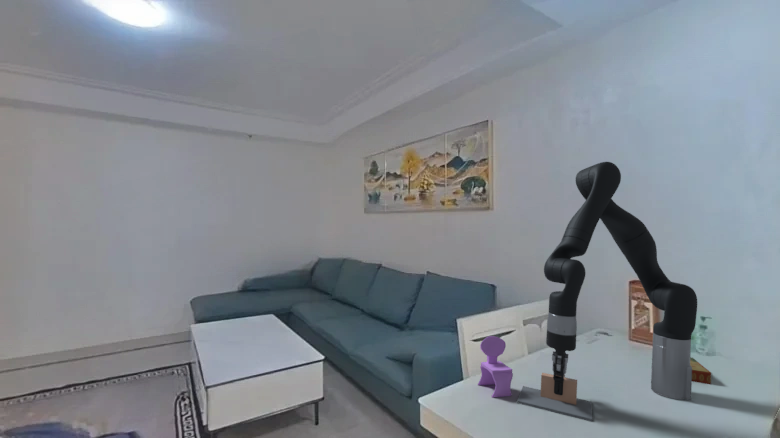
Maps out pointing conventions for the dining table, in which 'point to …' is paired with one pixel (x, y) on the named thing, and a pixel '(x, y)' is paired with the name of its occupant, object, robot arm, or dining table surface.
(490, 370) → the toy chair
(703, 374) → the carton
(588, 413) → the mat
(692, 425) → the dining table surface
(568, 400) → the block
